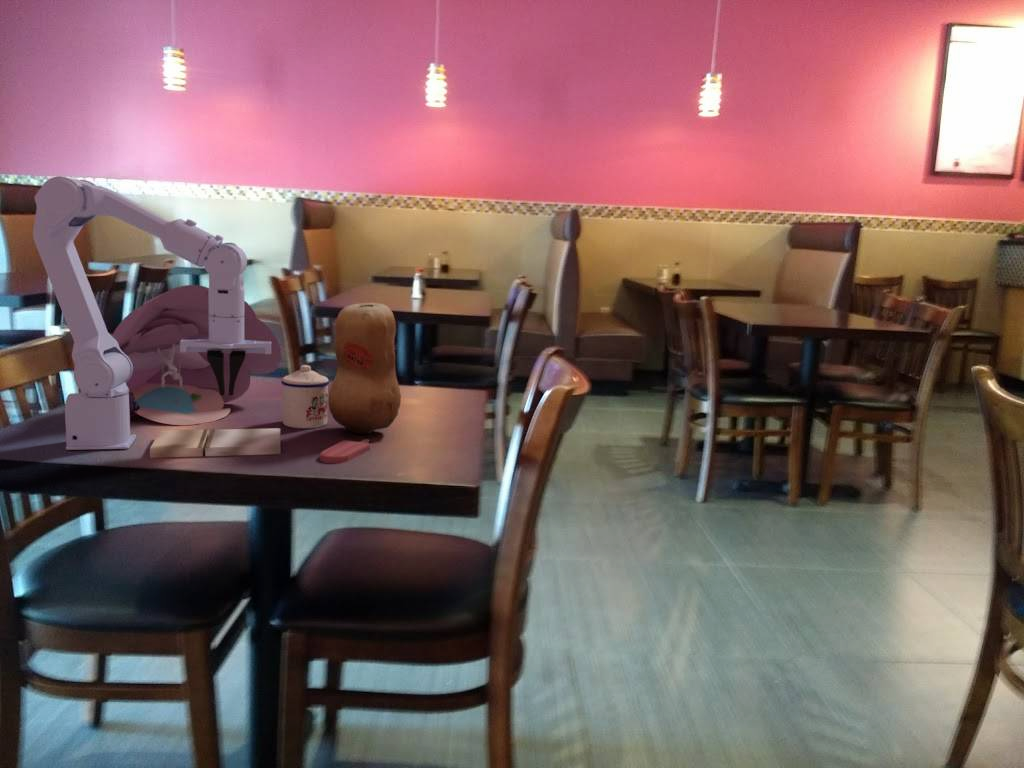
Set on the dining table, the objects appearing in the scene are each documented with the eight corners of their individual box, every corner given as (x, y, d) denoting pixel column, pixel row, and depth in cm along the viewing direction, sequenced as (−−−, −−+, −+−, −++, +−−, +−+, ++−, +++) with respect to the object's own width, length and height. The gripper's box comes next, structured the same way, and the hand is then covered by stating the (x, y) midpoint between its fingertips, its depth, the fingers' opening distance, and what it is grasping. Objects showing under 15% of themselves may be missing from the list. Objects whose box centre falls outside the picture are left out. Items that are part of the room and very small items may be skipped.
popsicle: (380, 437, 144) (342, 458, 129) (380, 445, 144) (342, 467, 130) (354, 434, 145) (313, 454, 131) (354, 442, 145) (313, 463, 131)
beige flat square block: (205, 456, 130) (205, 446, 130) (211, 437, 141) (210, 429, 141) (280, 454, 133) (280, 445, 133) (280, 436, 145) (280, 427, 144)
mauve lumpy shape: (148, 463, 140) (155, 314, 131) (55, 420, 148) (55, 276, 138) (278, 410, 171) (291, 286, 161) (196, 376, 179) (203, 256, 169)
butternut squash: (316, 437, 145) (318, 303, 141) (342, 421, 158) (344, 298, 154) (388, 444, 144) (392, 308, 139) (408, 427, 157) (412, 303, 152)
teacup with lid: (312, 431, 150) (312, 371, 147) (271, 425, 152) (271, 366, 150) (344, 419, 161) (345, 363, 159) (306, 413, 164) (306, 358, 161)
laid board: (150, 457, 127) (149, 448, 127) (160, 438, 139) (160, 429, 138) (202, 456, 130) (202, 447, 129) (208, 437, 141) (208, 429, 141)
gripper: (177, 316, 126) (178, 398, 129) (271, 319, 131) (270, 399, 133) (182, 312, 133) (183, 390, 135) (271, 315, 137) (270, 390, 140)
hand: (226, 394), depth 135 cm, fingers closed
